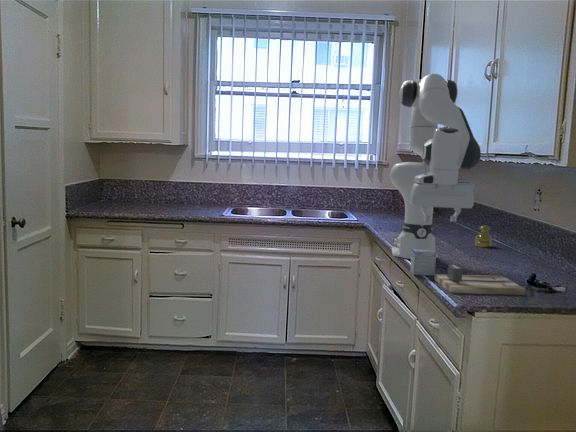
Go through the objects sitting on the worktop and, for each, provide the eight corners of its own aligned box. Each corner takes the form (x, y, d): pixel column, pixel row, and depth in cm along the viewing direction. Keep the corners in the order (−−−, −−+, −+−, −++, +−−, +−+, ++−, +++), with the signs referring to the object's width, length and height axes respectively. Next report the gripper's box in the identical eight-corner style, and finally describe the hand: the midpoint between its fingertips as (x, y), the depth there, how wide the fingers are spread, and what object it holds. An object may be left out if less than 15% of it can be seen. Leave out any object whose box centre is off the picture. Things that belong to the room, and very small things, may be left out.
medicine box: (431, 273, 187) (433, 249, 186) (434, 276, 182) (436, 252, 181) (409, 272, 187) (411, 248, 185) (413, 275, 182) (414, 251, 181)
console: (433, 279, 178) (434, 273, 177) (501, 281, 179) (502, 275, 179) (450, 292, 162) (450, 286, 162) (524, 294, 163) (525, 288, 163)
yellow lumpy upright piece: (492, 248, 240) (494, 227, 238) (475, 247, 241) (477, 226, 240) (489, 245, 247) (491, 224, 246) (473, 244, 248) (475, 223, 247)
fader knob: (447, 276, 172) (448, 264, 171) (456, 276, 172) (457, 265, 172) (452, 280, 167) (453, 268, 166) (461, 280, 167) (462, 268, 167)
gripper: (471, 179, 168) (467, 220, 170) (409, 176, 167) (406, 218, 169) (479, 180, 162) (475, 223, 164) (415, 177, 161) (412, 221, 163)
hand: (439, 221), depth 167 cm, fingers open, 7 cm apart
